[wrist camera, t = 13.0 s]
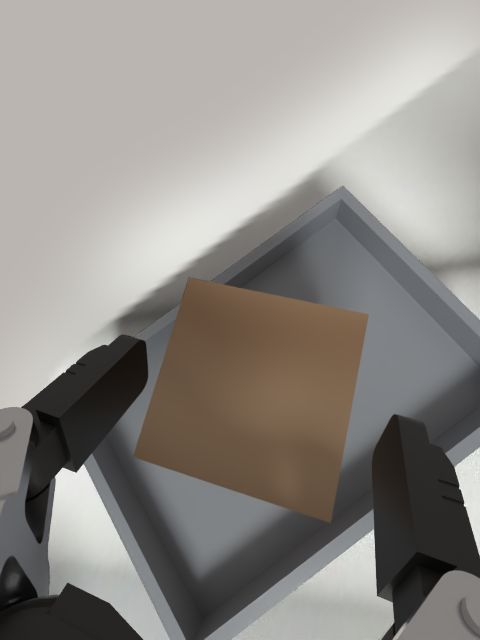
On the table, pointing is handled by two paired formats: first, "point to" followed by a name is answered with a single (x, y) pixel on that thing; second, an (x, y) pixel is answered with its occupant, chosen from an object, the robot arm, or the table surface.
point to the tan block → (256, 395)
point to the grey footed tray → (362, 437)
